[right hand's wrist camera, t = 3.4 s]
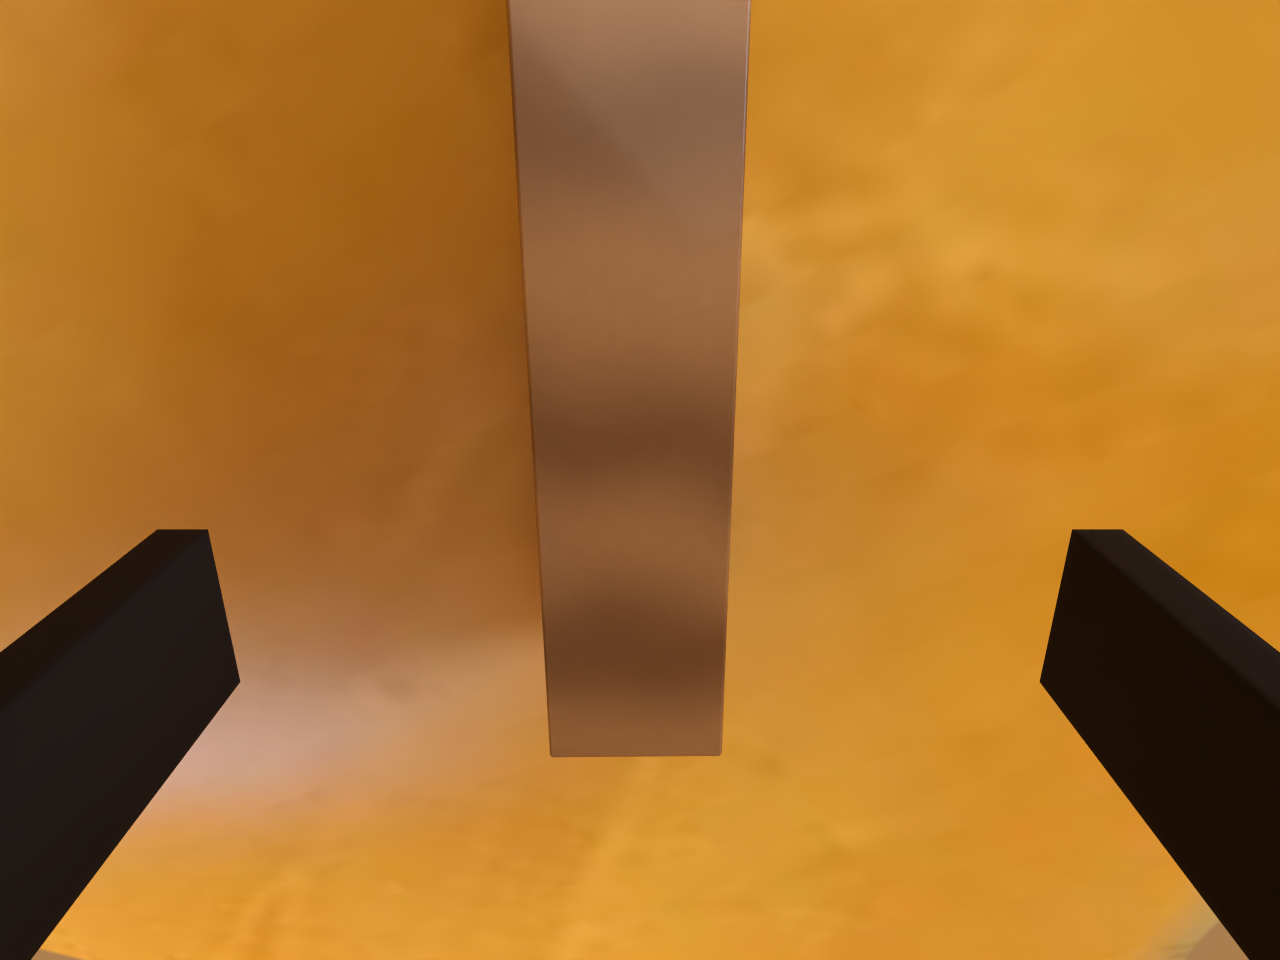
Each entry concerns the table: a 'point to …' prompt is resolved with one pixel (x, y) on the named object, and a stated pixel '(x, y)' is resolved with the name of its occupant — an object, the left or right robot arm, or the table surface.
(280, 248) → the table surface
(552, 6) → the beam
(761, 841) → the table surface
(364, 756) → the table surface
